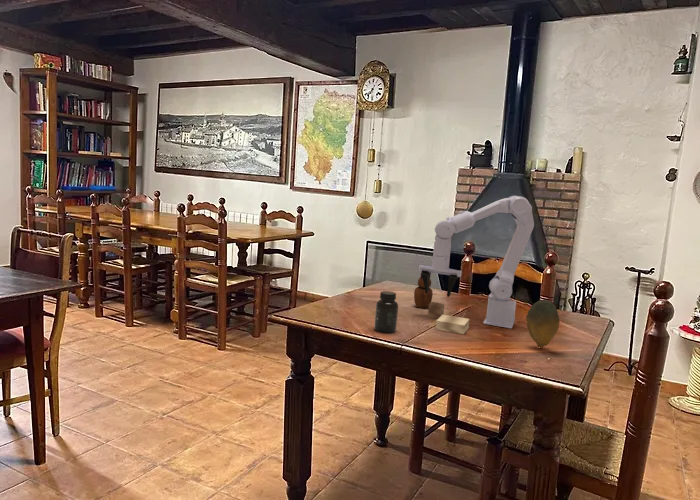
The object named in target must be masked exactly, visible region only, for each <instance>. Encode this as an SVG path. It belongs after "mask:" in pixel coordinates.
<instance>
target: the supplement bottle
mask: <svg viewBox="0 0 700 500" xmlns="http://www.w3.org/2000/svg"><path fill="white" fill-rule="evenodd" d="M396 299H397V293H396V292H394V291H389V290H383V291H380V295H379V299H378V300H377V301H376V304H375V314H374V315H375V317H374V325H373V326H374V330H375V331H376V332H378V333H382V334H383V333H384V334H392V333H395V332H396V331H397V327H398V326H397V323H398V314H399V313H398V312H399V303H398V302H397V300H396Z"/></svg>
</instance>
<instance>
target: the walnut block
mask: <svg viewBox="0 0 700 500" xmlns="http://www.w3.org/2000/svg"><path fill="white" fill-rule="evenodd" d="M427 311H428V312H427V319H431V320H437V319H438V318H439V317H440V316H442V315H444V313H445V303H441V302H435V301H431V303H430V304H429V307H428V310H427Z"/></svg>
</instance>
